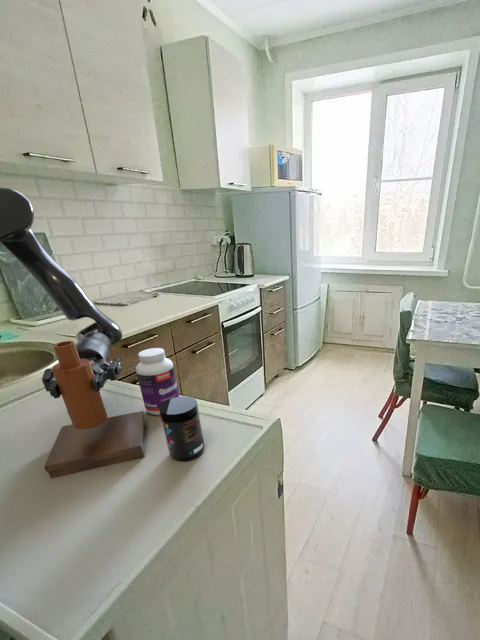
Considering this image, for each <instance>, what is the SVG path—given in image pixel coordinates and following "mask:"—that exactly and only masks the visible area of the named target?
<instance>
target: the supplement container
mask: <svg viewBox="0 0 480 640" xmlns="http://www.w3.org/2000/svg"><path fill="white" fill-rule="evenodd" d="M159 412H160V415H159V416H160V419H161V423H162V427H163V431H164V435H165V441H166V445H167V448H168V453H169V456H170V457H171V458H172V459H173V460H175V461H178V462H188V461H192V460H194V459H196V458H198V457H200V456H201V455H202V454H203V453H204V450H205V439H204V434H203V429H202V424H201V418H200V413H199V406H198V400H197V399H196V398H195V397H193V396H187V395H185V396H183V395H182V396H179V397H175V398H171V399H169V400H167V401H165V402H163V403H162V404H161V405H160V406H159Z"/></svg>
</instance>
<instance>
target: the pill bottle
mask: <svg viewBox="0 0 480 640" xmlns="http://www.w3.org/2000/svg"><path fill="white" fill-rule="evenodd" d="M137 356H138V360H139V361H140V362H138V364H137V365H136V367H135V373H136V377H137V381H138V385H139V388H140V393H141V395H142V396H141V397H142V401H143V406H144V409H145V411H146V413H148V414H149V415H152V416H160V412H159V406H160V405H161V404H162V403H163V402H165V401H167V400H169V399H171V398H175V397H180V393H179V388H178V382H177V377H176V373H175V372H176V371H175V368H174V363H173V361H172V360H171V359H170V358H167V357H166V353H165V349H164V348H161V347H151V348H146V349H144V350H141V351H139V353H138V354H137Z"/></svg>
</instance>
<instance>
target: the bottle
mask: <svg viewBox="0 0 480 640" xmlns="http://www.w3.org/2000/svg"><path fill="white" fill-rule="evenodd" d="M75 345H76V343H75V341H74V340H64V341H60V342H57V343H54V344H53V345H52V348H53V350H54V354H55V356H56V359H57V361H58V363H56V364H55V365H53V366H52V367H51V369H52V371H53V374H54V377H55V379H56V382H57V385H58V387H59V390H60V392H61V397H62V400H63V403H64V406H65V408H66V411H67V413H68V416H69V419H70V421H71V425H72V424H73V426H74V428H76V429H89V428H93V427H96V426H98V425H100V424H102V423H103V422H104V421H105V420H106V419H107V418H108V413H107V411H106V407H105V404H104V401H103V397H102V395H101V390H100V391H95V390H94V387H93V384H92V380H93V377H94V373H93V370H92V367H91V363H90V361H89V360H88V359H84V358H79V355H78V352H77V349H76V346H75Z"/></svg>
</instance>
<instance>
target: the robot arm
mask: <svg viewBox="0 0 480 640" xmlns="http://www.w3.org/2000/svg"><path fill="white" fill-rule="evenodd" d="M34 221H35V211H34V208H33V206H32V203H31V201H30V200H29V198H27V197H26V196H25V195H24V194H23V193H21V192H19V191H17V190H15V189H12V188H8V187H0V244H1V245H2V246H3V247H4V248H5V249H6V250H8V252H10V254H12V255H13V256H14V258H15V259H16V260H17V261H18V262H19V263H20V265H22V266H23V267H24V268H25V269H26V270H27V271H28V272H29V273H30V275H31V276H32V277H33V278H34V279H35V280H36V282H37V283H38V285H40V287H41V288H42V289H43V291H44V292H45V293H46V294H47V295H48V297H49V298H50V299H51V300H52V301H53V304H55V305H56V307H57V308H58V309H59V310H60V311H61V313H62V314H63V315H64V317H65V318H66V319H67V320H69V321H71V322H74V321H79V320H82V319H85V318H87V319H91V320H93V321H94V322H93V323H91V324H89V325H88V326H86V327H84V328H82V329H80V330H79V331H78V332H77V333H76V335H75V339H76V342H77V343H75V346H76V349H77V352H78V355H79V358H84V359H88V360H89V361H90V363H91V367H92V370H93V373H94V377H93V380H92V384H93V387H94V390H95V391H100V392H101V389H103V388H104V387H105V384H107V381H109V380H110V381H111V382H114V381H116V380H117V379H118V377H119V376H120V374H121V372H122V371H123V368H122V364H121V361H120V358H118V357H115V358H113V359H112V360H111V352H112V346H114V345H116V344H118V343H119V342H121V340H122V339H123V332H122V328H121V327H120V325H119V324H118V323H117V322H115V321H114V320H113V319H112V318H111V317H109V316H107V315H106V314H105V313H104V312H103V311H102V310H100V309H99V307H97V306H96V305H95V304H94V303H93V301H91V299H90V298H89V297H88V295H87V294H86V293H85V291H84V290H83V289H82V287H81V286H80V284H79V283H78V282H77V281H76V279H74V278H73V277H72V275H71V274H70V273H69V272H68V271H66V270H65V269H64V268H63V267H62V266H61V265H60V264H58V262H56V261H55V260H54V258H52V257H51V256H50V255H49V254H48V253H47V251H46V250H45V249H44V247H43V246H42V244H40V242H39V240H38V239H37V236H36V235H35V233H34V232H33V230H32V226H33V224H34ZM110 360H111V361H110ZM41 377H42V378H41V381H42V384H43V386H44V389H45V391H46V392H49V394H50V396H51V397H53V399H60V397H62V395H61V392H60V390H59V387H58V385H57V382H56V379H55V377H54V374H53V371H52V368H46V369H44V371H43V374H42V376H41Z"/></svg>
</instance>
